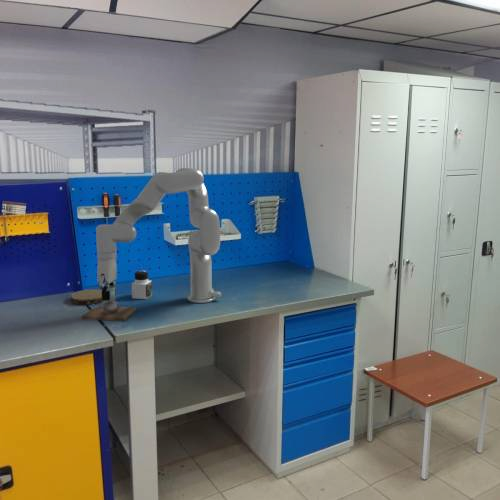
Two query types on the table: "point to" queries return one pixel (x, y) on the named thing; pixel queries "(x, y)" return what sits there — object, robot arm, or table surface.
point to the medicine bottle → (141, 286)
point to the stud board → (115, 316)
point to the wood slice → (87, 297)
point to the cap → (111, 293)
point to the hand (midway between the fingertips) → (109, 297)
